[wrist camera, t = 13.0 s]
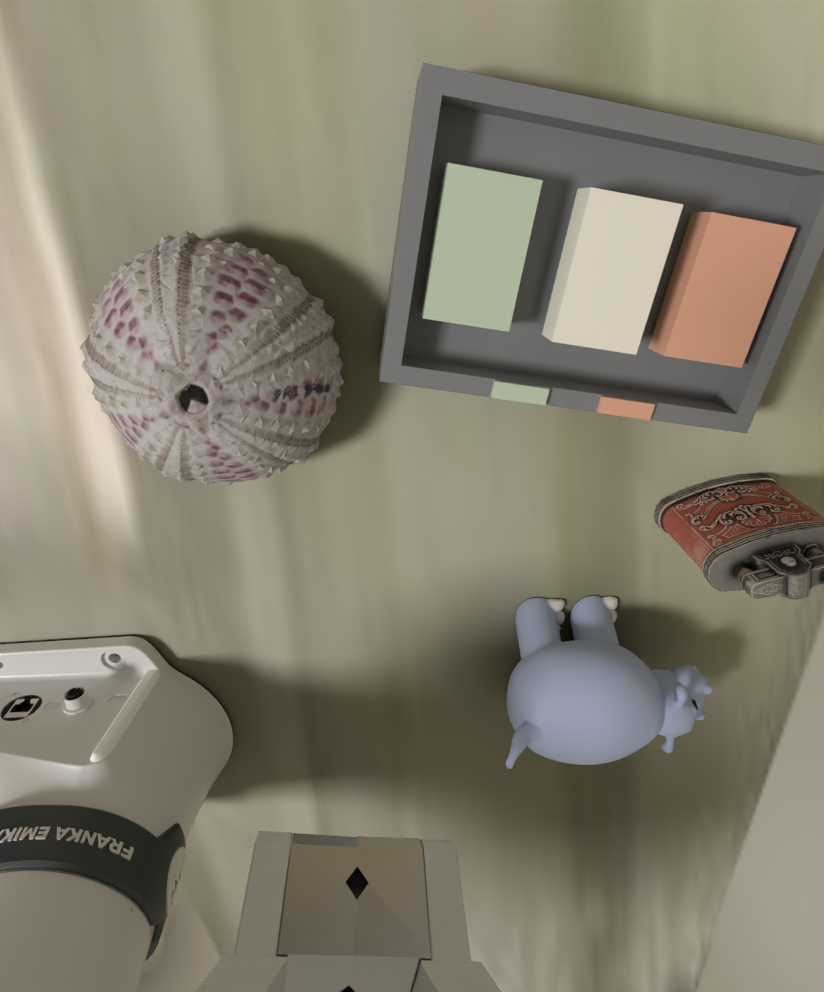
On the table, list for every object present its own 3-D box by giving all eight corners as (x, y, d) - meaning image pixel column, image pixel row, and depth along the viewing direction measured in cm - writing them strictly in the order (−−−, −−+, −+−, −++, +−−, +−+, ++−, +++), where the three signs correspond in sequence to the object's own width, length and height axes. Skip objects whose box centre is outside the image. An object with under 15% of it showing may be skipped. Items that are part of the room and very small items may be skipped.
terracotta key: (648, 348, 34) (663, 355, 32) (692, 211, 31) (711, 211, 29) (722, 359, 34) (741, 367, 32) (772, 226, 31) (796, 227, 29)
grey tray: (379, 363, 35) (379, 382, 31) (417, 80, 29) (424, 61, 25) (710, 411, 38) (749, 435, 34) (807, 160, 32) (868, 153, 28)
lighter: (655, 537, 41) (733, 628, 32) (651, 494, 40) (732, 578, 31) (772, 507, 41) (884, 592, 32) (772, 463, 39) (890, 539, 30)
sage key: (420, 312, 32) (423, 318, 30) (443, 165, 29) (448, 162, 27) (501, 325, 33) (509, 332, 31) (532, 182, 30) (542, 180, 28)
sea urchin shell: (212, 173, 31) (163, 162, 23) (394, 364, 35) (400, 404, 28) (60, 352, 34) (-25, 391, 27) (245, 505, 39) (215, 573, 32)
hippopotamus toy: (661, 703, 48) (723, 809, 40) (477, 709, 47) (500, 819, 39) (690, 592, 44) (767, 685, 35) (486, 596, 43) (514, 693, 34)
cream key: (541, 334, 32) (551, 341, 30) (577, 188, 29) (591, 187, 27) (621, 346, 32) (636, 354, 31) (664, 204, 30) (683, 204, 28)
